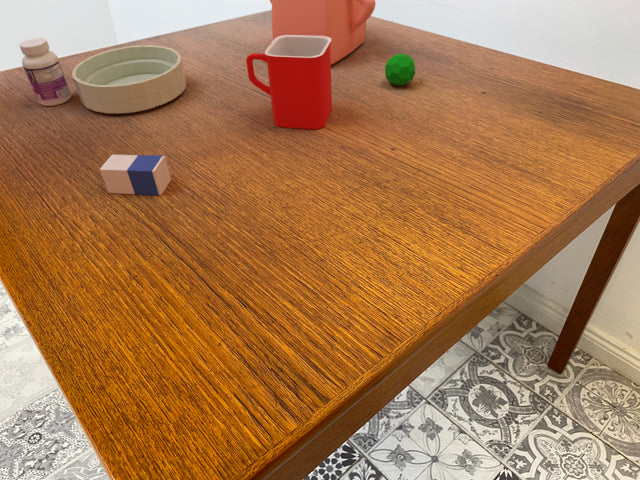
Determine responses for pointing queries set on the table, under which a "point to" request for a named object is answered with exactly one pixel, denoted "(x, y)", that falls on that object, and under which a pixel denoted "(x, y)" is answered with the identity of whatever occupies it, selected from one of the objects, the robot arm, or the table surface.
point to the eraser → (136, 174)
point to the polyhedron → (400, 69)
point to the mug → (297, 80)
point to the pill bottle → (44, 72)
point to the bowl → (130, 79)
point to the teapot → (324, 21)
